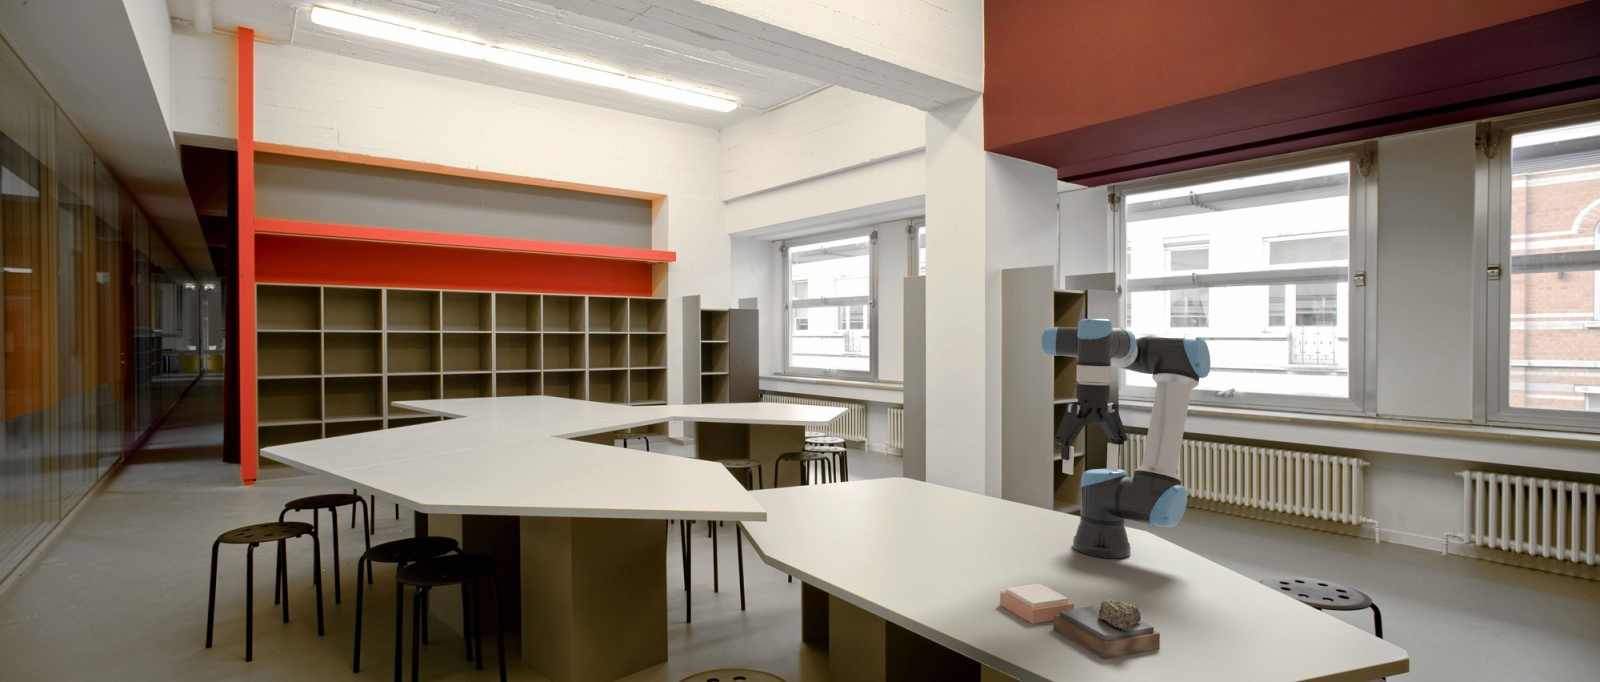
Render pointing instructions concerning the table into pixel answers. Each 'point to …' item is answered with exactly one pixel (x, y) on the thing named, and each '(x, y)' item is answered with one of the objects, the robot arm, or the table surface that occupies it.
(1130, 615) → the rock
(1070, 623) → the walnut plinth
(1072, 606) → the terracotta plinth
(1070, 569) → the table surface
